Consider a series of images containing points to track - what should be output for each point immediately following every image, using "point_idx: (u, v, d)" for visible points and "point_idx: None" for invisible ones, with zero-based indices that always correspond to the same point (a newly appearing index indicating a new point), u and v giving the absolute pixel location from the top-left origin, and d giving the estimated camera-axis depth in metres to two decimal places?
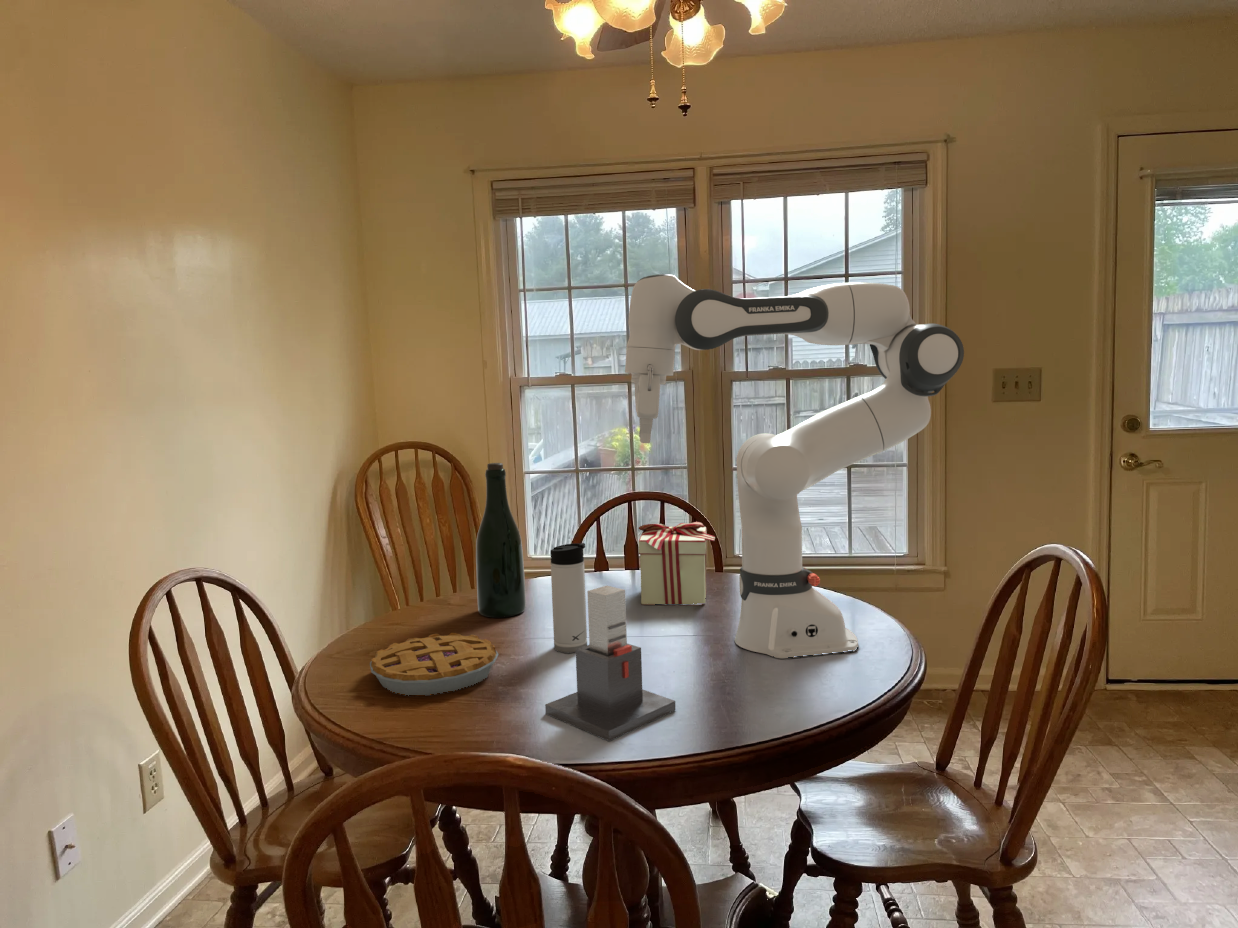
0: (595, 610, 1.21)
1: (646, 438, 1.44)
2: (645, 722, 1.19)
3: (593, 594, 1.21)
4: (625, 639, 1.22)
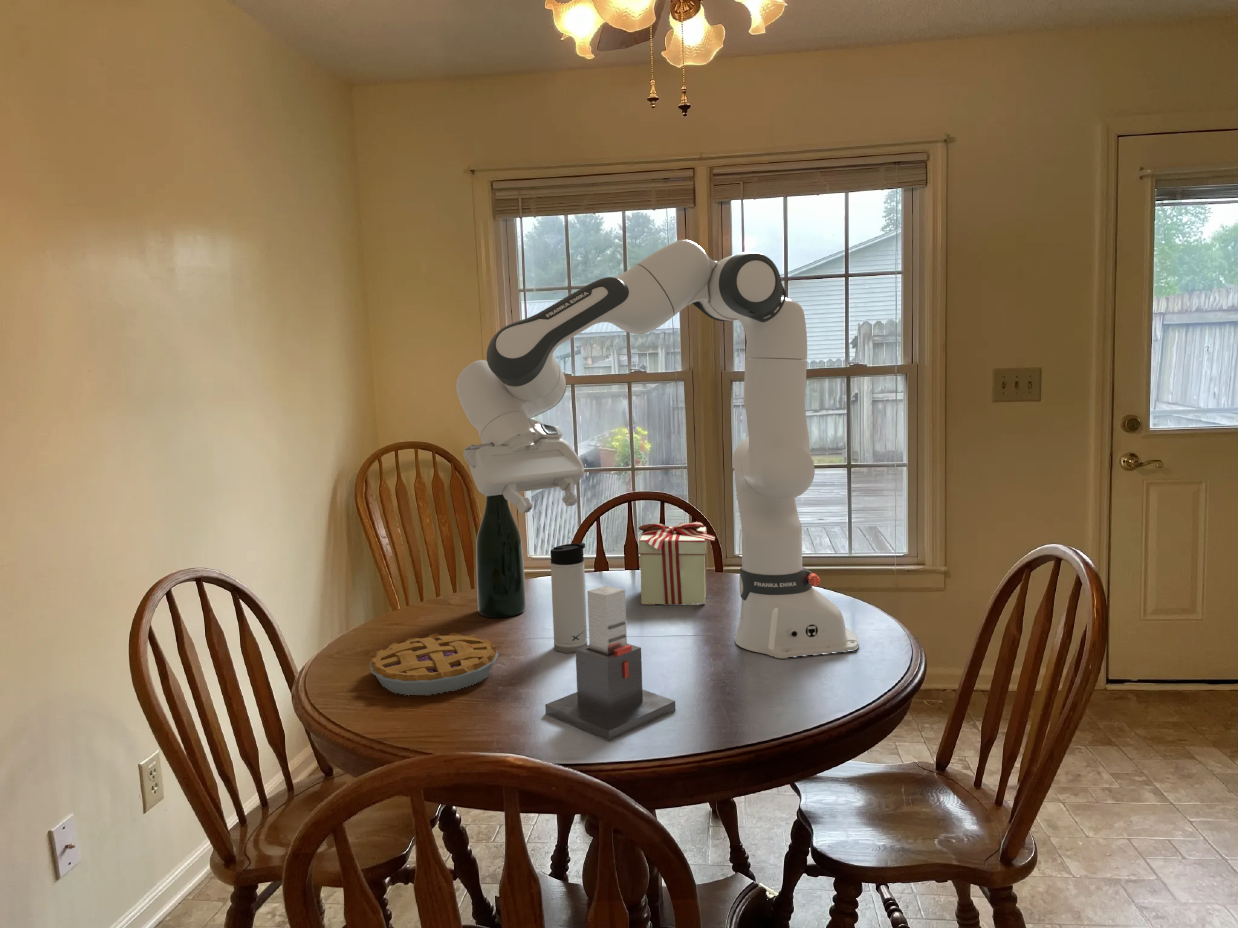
0: (595, 610, 1.21)
1: (521, 505, 1.26)
2: (645, 722, 1.19)
3: (593, 594, 1.21)
4: (625, 639, 1.22)
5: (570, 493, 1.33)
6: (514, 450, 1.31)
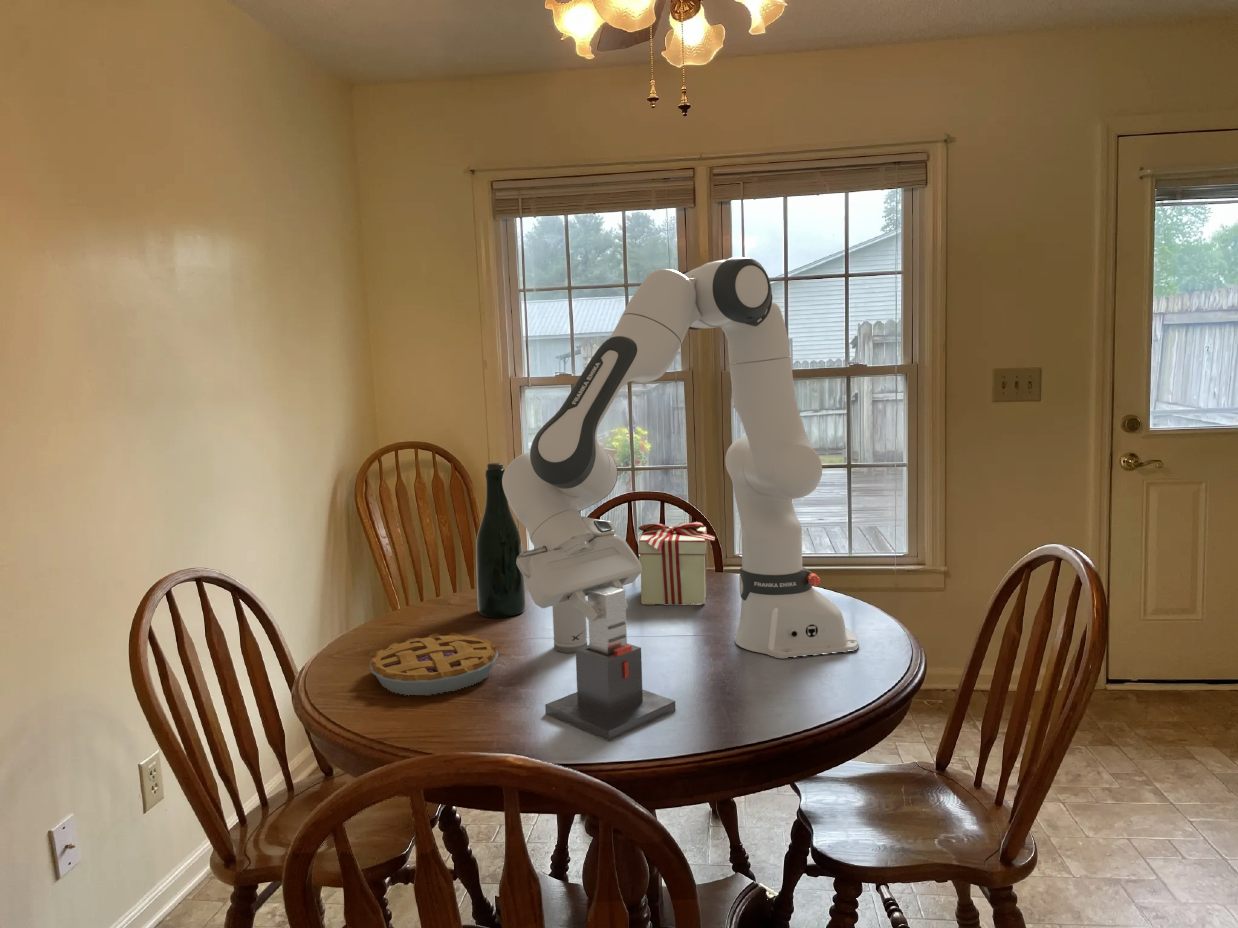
0: None
1: (590, 614, 1.19)
2: (645, 722, 1.19)
3: (593, 595, 1.21)
4: (625, 639, 1.22)
5: None
6: (569, 554, 1.23)
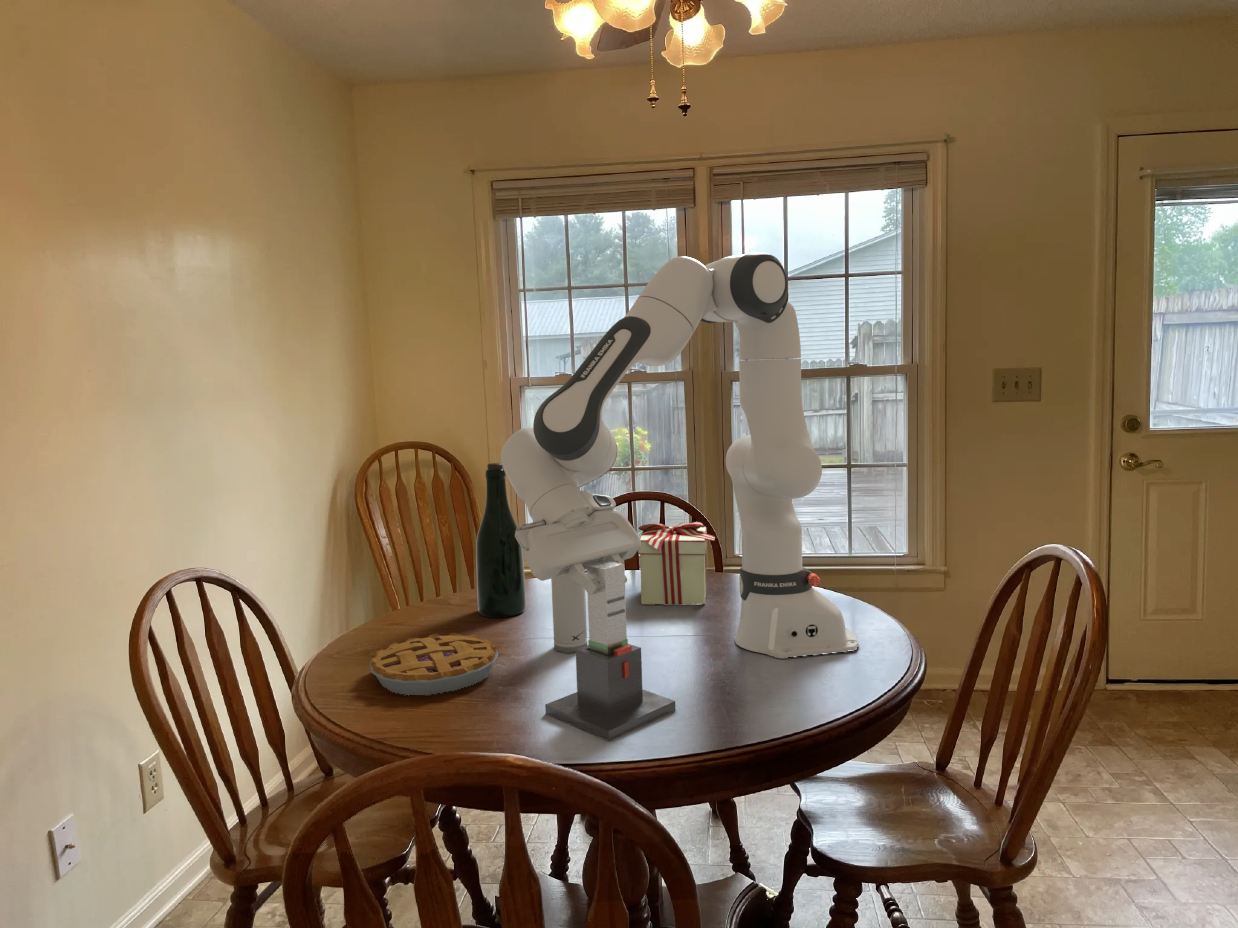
0: None
1: (589, 587, 1.19)
2: (645, 722, 1.19)
3: (593, 569, 1.20)
4: (624, 614, 1.22)
5: None
6: (568, 527, 1.23)
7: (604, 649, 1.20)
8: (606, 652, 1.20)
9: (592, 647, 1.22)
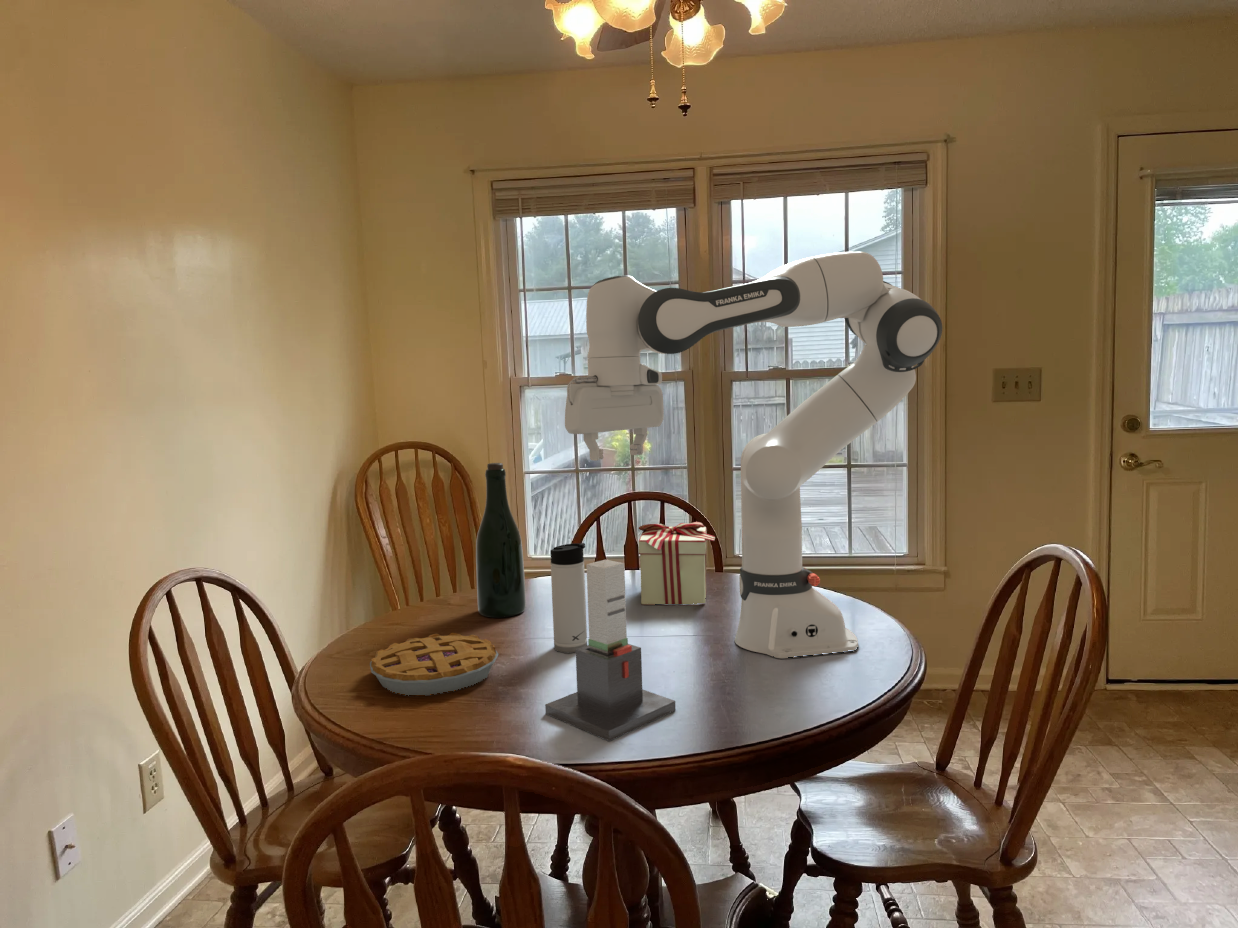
0: (594, 583, 1.20)
1: (594, 455, 1.33)
2: (645, 722, 1.19)
3: (593, 568, 1.20)
4: (624, 613, 1.22)
5: (639, 446, 1.40)
6: (612, 395, 1.33)
7: (604, 648, 1.20)
8: (606, 651, 1.20)
9: (592, 646, 1.22)
